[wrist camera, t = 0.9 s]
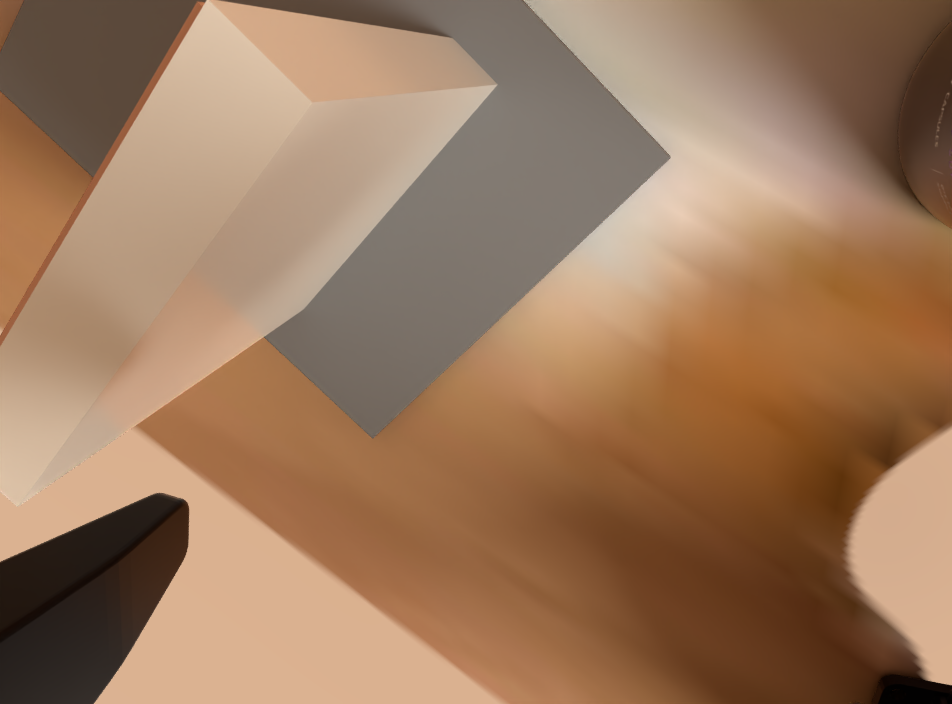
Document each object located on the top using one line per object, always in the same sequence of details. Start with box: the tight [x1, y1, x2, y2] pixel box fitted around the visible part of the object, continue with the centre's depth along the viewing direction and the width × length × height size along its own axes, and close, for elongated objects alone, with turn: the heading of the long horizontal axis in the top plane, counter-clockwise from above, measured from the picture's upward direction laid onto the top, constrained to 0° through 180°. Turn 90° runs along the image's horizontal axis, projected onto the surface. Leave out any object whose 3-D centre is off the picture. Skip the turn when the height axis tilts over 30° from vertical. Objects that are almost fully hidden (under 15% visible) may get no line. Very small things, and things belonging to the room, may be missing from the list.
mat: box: [0, 0, 670, 438], centre depth 22 cm, size 18×14×1 cm
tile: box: [0, 0, 498, 507], centre depth 16 cm, size 2×10×12 cm, turn 137°
